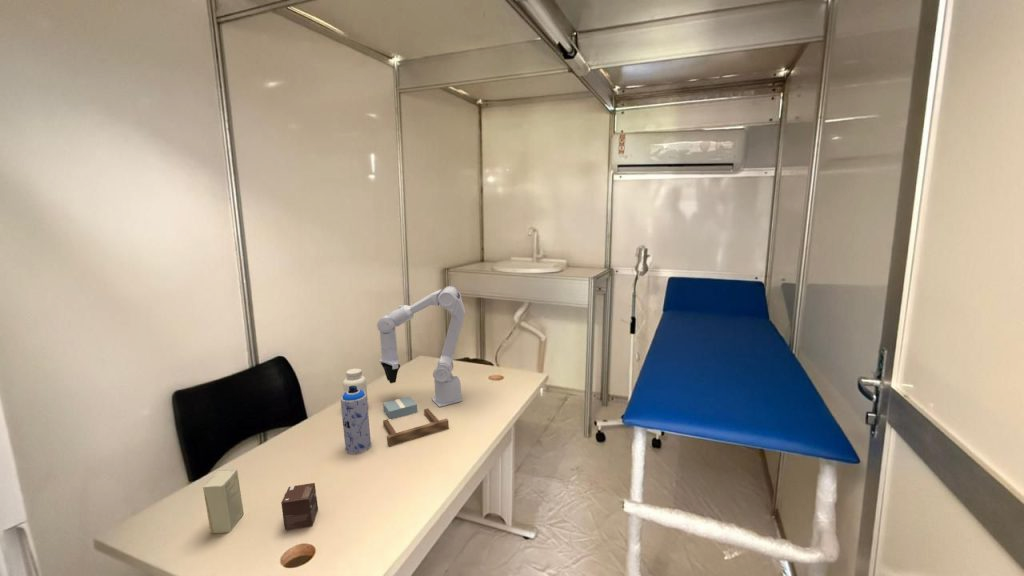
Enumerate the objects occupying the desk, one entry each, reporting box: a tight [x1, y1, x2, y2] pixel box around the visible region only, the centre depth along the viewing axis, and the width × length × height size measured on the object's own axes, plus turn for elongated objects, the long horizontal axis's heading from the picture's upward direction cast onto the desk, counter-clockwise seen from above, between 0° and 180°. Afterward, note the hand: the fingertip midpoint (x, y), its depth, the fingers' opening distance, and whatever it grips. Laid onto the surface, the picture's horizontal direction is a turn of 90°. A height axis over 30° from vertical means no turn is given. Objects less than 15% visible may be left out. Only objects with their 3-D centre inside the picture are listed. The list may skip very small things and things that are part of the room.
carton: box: [382, 396, 418, 420], centre depth 152 cm, size 10×8×4 cm
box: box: [281, 482, 319, 531], centre depth 98 cm, size 6×6×7 cm
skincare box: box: [202, 469, 244, 534], centre depth 97 cm, size 6×4×12 cm
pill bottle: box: [342, 368, 369, 406], centre depth 153 cm, size 8×8×15 cm
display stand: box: [382, 407, 450, 447], centre depth 140 cm, size 20×14×3 cm
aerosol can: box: [340, 386, 373, 455], centre depth 127 cm, size 8×8×20 cm
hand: (391, 381), depth 158 cm, fingers open, 3 cm apart
